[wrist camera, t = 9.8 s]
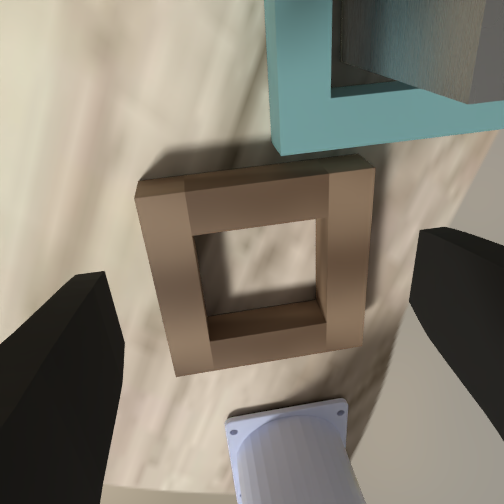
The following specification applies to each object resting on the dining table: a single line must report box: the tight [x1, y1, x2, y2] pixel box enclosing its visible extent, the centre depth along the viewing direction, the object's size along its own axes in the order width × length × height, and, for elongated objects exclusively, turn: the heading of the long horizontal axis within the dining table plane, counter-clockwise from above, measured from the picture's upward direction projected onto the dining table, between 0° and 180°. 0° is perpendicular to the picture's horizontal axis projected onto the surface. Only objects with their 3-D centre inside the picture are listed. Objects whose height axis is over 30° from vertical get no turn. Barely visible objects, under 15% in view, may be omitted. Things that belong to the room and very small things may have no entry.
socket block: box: [134, 154, 375, 377], centre depth 21 cm, size 10×10×2 cm
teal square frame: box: [264, 0, 504, 156], centre depth 16 cm, size 10×10×2 cm
